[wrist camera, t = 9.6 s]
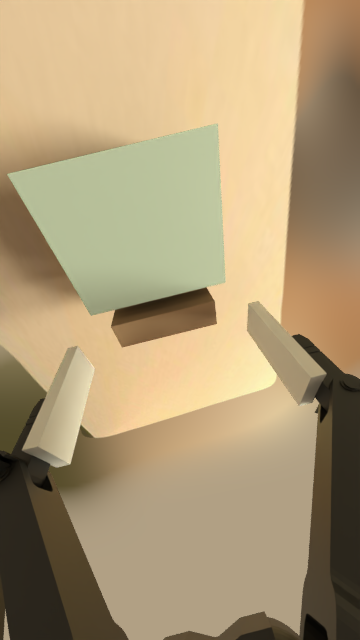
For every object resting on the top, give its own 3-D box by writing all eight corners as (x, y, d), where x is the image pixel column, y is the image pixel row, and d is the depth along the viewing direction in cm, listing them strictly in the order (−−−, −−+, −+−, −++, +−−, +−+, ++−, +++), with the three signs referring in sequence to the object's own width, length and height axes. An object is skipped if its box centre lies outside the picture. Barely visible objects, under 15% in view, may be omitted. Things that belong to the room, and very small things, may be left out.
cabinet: (65, 181, 18) (-9, 177, 9) (182, 153, 18) (217, 123, 10) (122, 307, 27) (111, 366, 18) (201, 288, 27) (228, 337, 18)
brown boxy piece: (123, 276, 25) (111, 326, 16) (189, 260, 25) (214, 301, 16) (132, 298, 27) (126, 354, 18) (193, 283, 27) (217, 332, 18)
